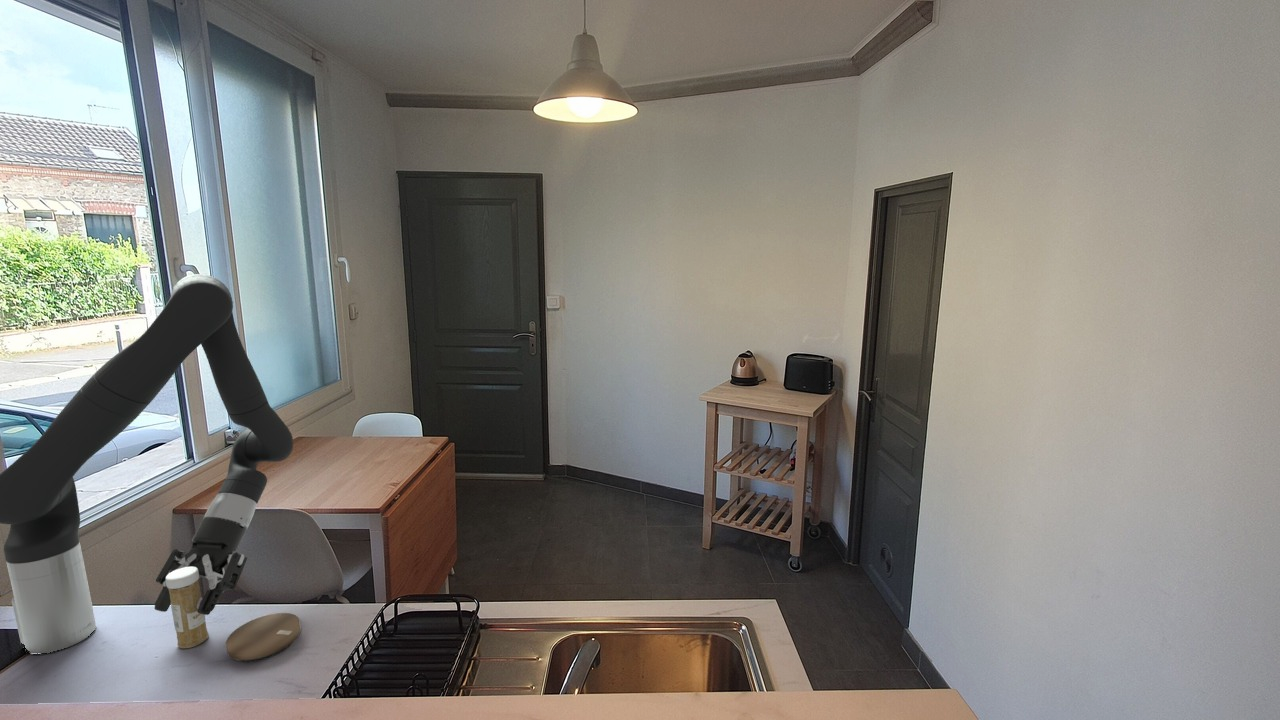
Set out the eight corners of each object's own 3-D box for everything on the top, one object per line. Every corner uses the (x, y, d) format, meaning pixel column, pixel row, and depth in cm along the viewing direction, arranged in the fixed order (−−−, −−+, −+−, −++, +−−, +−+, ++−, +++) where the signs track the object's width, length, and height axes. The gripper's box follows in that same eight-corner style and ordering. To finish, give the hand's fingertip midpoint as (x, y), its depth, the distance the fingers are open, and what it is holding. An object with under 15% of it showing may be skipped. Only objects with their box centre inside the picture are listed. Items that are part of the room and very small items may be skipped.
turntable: (210, 657, 98) (209, 649, 98) (260, 618, 109) (259, 610, 109) (269, 662, 97) (268, 653, 97) (314, 622, 108) (313, 614, 107)
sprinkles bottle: (208, 643, 104) (196, 573, 102) (175, 653, 102) (163, 581, 99) (209, 630, 108) (198, 562, 106) (178, 639, 105) (166, 570, 103)
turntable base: (221, 660, 99) (220, 654, 99) (262, 627, 108) (261, 622, 108) (269, 663, 98) (268, 658, 98) (306, 630, 107) (305, 625, 107)
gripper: (178, 513, 110) (128, 605, 100) (246, 516, 108) (201, 609, 98) (207, 527, 116) (162, 614, 106) (271, 530, 114) (232, 619, 104)
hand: (181, 612), depth 102 cm, fingers open, 8 cm apart
